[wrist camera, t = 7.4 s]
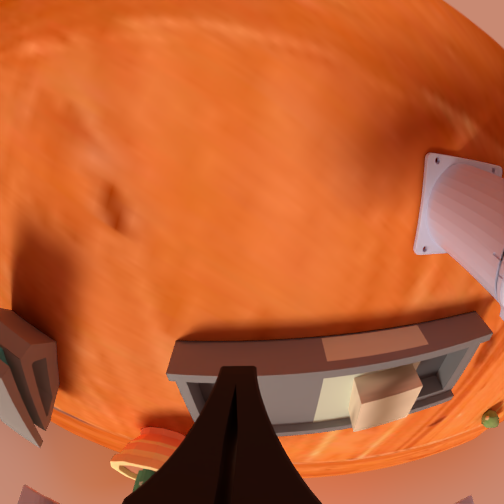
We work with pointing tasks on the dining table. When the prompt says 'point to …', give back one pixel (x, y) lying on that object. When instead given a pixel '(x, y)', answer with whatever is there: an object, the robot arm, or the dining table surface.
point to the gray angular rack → (26, 376)
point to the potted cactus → (146, 454)
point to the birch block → (383, 396)
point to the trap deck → (330, 369)
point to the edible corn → (490, 419)
